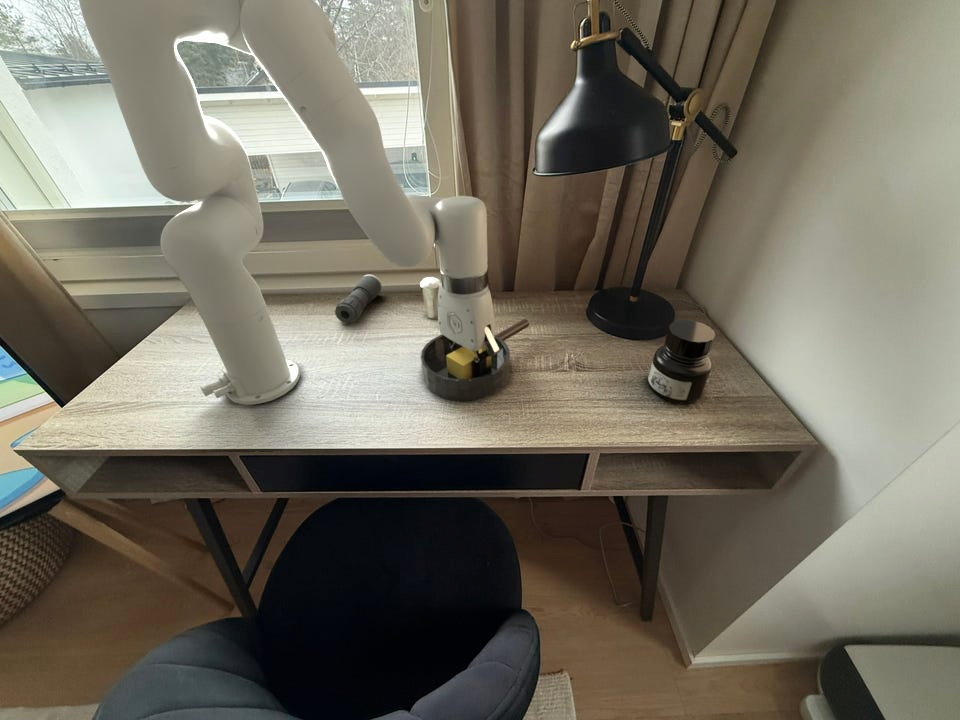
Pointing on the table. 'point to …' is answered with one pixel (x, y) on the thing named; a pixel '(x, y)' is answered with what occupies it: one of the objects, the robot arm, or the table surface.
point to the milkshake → (430, 295)
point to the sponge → (462, 363)
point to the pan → (462, 388)
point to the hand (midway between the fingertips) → (469, 368)
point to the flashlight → (358, 299)
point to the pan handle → (513, 329)
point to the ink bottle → (682, 362)
